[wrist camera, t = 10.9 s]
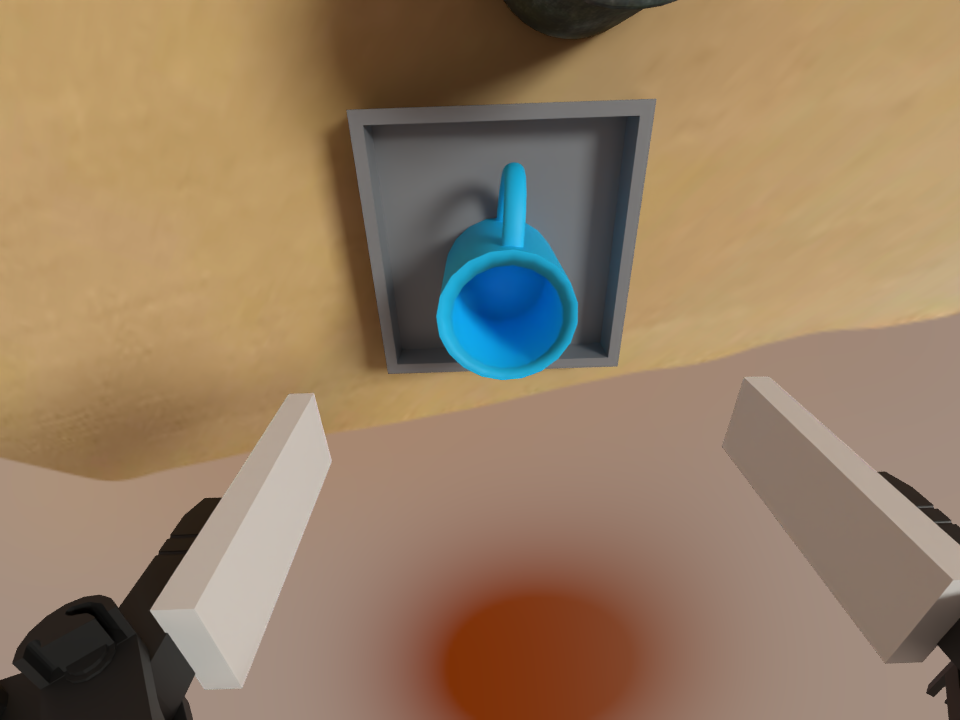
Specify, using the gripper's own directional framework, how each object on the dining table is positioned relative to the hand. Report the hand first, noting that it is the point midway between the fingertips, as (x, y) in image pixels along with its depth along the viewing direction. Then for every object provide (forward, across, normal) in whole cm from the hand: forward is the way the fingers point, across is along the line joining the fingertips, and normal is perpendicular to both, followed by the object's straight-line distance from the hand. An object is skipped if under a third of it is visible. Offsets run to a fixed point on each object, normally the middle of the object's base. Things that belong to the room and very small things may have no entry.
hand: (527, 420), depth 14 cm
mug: (+20, 0, 0) cm, 20 cm away
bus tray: (+21, 0, 0) cm, 21 cm away
